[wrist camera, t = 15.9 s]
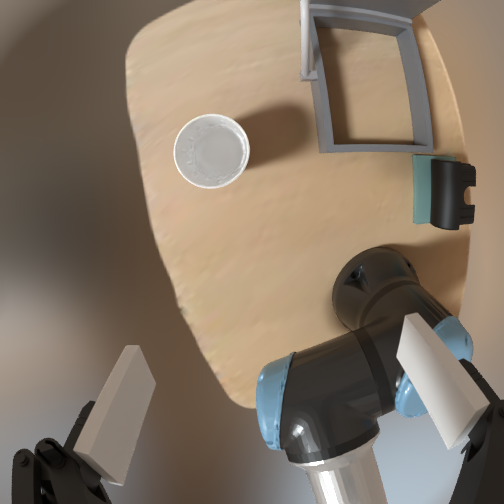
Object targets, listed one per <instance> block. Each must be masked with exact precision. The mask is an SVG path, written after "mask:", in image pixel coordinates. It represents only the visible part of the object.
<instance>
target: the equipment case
mask: <svg viewBox="0 0 504 504" xmlns="http://www.w3.org/2000/svg"><path fill="white" fill-rule="evenodd" d="M439 1H440V0H300V9H301V20H300V26H301V72H300V80H301V81H311V87H312V94H313V101H314V108H315V116H316V124H317V132H318V142H319V151H320V153H335V152H421V153H434V150H433V136H432V125H431V117H430V109H429V102H428V95H427V89H426V83H425V78H424V73H423V68H422V64H421V59H420V55H419V51H418V47H417V43H416V40H415V36H414V33H413V29H412V26H411V24H413V22H412V19H413V18H414V17H416V16H417V15H419V14H420V13H422V12H423V11H425V10H426V9H427V8H429V7H431V6H432V5H434V4H436V3H437V2H439ZM316 27H322V28H338V29H349V30H358V31H366V32H373V33H379V34H385V35H390V36H395V37H396V38H397V42H398V46H399V50H400V54H401V58H402V63H403V68H404V72H405V78H406V83H407V89H408V95H409V102H410V109H411V117H412V126H413V136H414V145H393V144H344V145H334V140H333V130H332V122H331V114H330V106H329V99H328V92H327V86H326V79H325V73H324V68H323V62H322V57H321V51H320V46H319V41H318V37H317V32H316Z"/></svg>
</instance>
